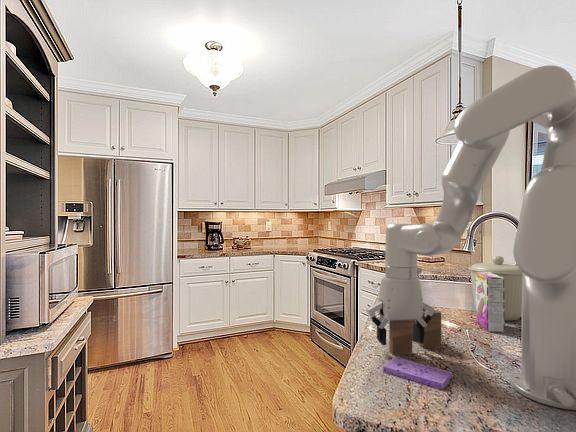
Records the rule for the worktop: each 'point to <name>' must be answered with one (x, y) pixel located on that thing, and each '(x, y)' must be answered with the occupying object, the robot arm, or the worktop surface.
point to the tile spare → (400, 337)
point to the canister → (511, 285)
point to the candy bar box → (490, 301)
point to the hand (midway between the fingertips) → (400, 342)
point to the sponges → (418, 372)
